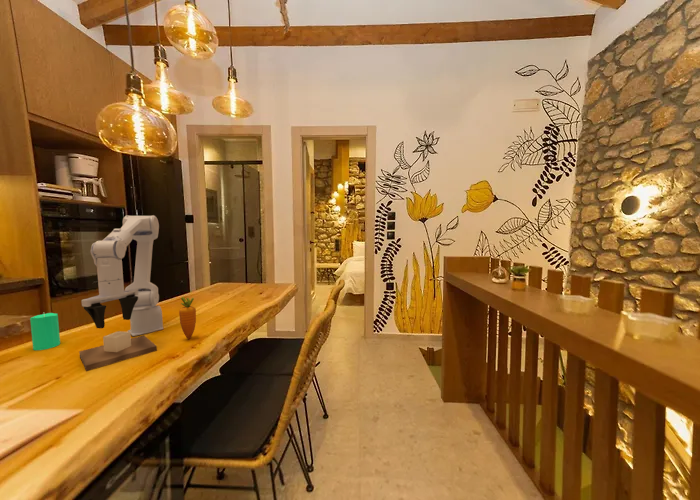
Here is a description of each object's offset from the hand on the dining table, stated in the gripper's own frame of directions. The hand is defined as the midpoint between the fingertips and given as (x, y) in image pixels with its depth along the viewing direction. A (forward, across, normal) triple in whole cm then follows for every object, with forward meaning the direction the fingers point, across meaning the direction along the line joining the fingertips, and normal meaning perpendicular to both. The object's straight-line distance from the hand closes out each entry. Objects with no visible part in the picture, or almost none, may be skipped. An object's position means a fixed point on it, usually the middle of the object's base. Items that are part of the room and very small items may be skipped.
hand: (114, 323), depth 83 cm
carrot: (+10, -14, +14) cm, 22 cm away
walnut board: (+9, 0, +1) cm, 9 cm away
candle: (+10, 0, -29) cm, 30 cm away
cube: (+8, 0, +1) cm, 8 cm away
